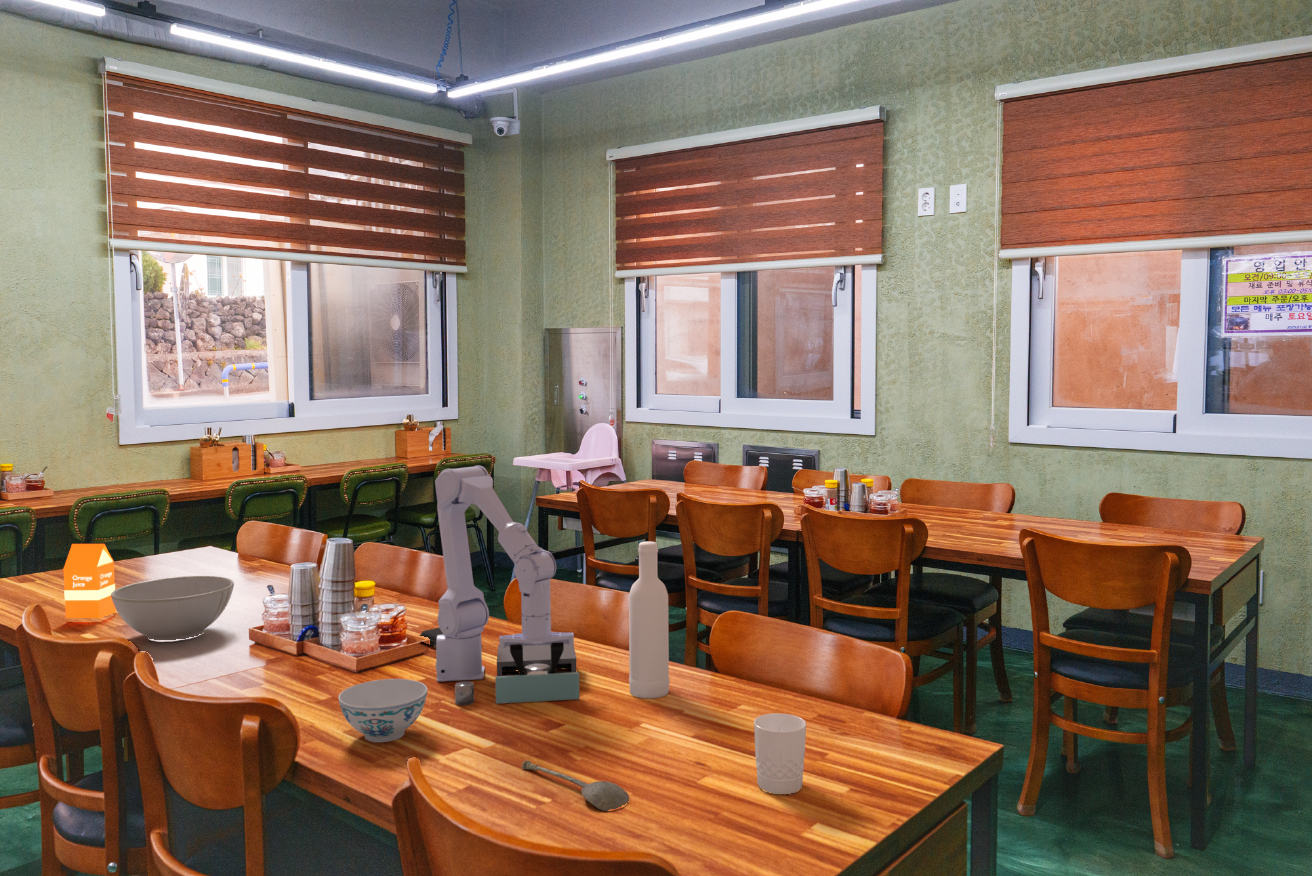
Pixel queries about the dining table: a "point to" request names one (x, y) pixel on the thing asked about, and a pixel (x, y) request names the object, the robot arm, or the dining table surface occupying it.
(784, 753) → the white cup
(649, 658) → the bottle
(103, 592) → the orange juice
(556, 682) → the teal drawer
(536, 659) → the grey drawer housing
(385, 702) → the chinaware
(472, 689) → the grey metallic cube
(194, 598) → the decorative bowl
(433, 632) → the carrying case or bag
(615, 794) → the soupspoon
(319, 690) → the dining table surface
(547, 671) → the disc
